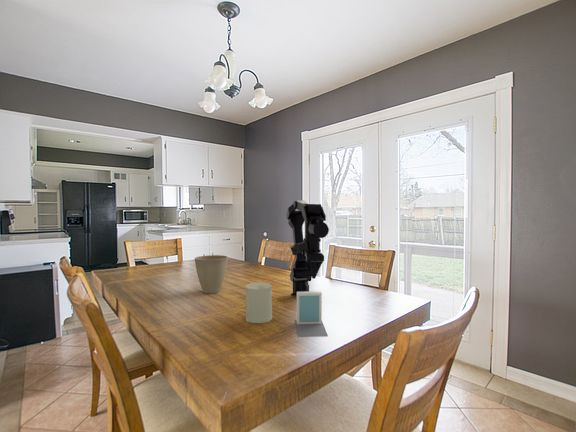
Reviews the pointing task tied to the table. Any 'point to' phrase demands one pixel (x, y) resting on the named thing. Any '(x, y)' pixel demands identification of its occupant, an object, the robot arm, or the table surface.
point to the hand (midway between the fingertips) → (312, 275)
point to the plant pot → (211, 272)
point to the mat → (310, 330)
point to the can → (258, 302)
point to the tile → (309, 307)
